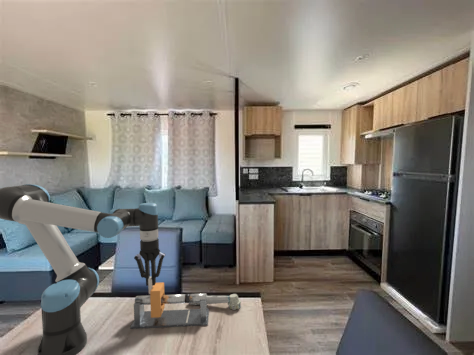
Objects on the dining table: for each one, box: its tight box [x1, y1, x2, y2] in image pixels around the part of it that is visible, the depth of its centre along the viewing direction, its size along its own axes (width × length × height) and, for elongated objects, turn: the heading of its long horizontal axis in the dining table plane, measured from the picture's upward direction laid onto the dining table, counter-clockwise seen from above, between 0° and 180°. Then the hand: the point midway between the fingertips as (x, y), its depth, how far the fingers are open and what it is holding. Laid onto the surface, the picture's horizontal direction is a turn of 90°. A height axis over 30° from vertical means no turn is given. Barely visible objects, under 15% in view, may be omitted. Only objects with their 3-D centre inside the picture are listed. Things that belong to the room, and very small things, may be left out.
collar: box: [149, 282, 166, 318], centre depth 111 cm, size 4×8×11 cm, turn 3°
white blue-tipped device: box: [188, 293, 242, 311], centre depth 122 cm, size 5×7×25 cm
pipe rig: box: [129, 292, 210, 330], centre depth 111 cm, size 32×11×11 cm, turn 93°
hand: (151, 292), depth 111 cm, fingers closed
